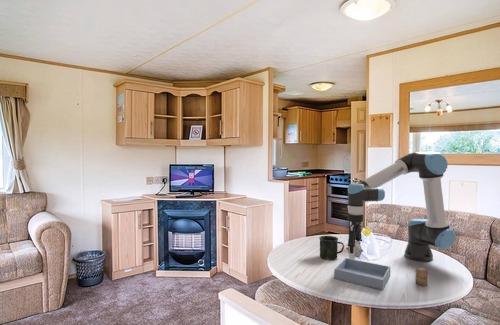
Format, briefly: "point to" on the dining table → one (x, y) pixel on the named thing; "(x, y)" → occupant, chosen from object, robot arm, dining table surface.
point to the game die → (357, 249)
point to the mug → (329, 247)
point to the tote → (362, 273)
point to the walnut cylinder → (421, 277)
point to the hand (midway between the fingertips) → (354, 256)
